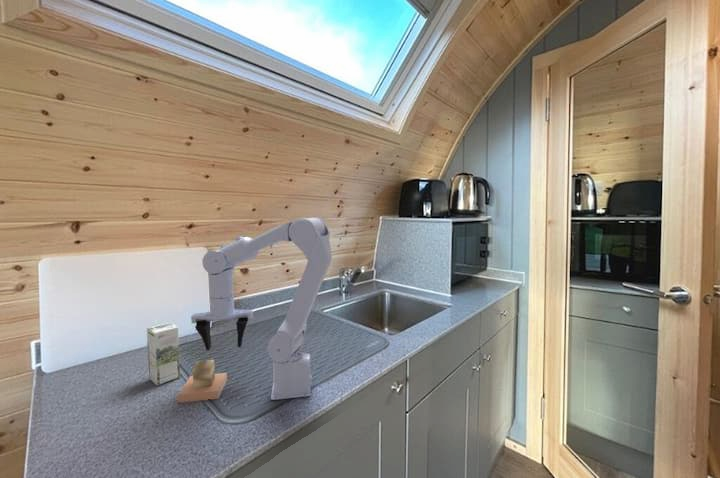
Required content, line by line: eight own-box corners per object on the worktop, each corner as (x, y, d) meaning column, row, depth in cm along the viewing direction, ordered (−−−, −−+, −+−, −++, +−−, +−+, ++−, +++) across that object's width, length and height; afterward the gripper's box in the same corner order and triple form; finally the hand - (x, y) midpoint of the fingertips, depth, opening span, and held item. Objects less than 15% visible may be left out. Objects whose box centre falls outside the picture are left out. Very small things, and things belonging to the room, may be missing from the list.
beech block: (215, 377, 84) (214, 359, 83) (211, 386, 80) (210, 367, 79) (198, 379, 83) (197, 361, 83) (193, 388, 79) (192, 369, 79)
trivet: (227, 381, 87) (226, 372, 87) (218, 400, 78) (218, 390, 78) (191, 384, 85) (190, 375, 85) (178, 404, 77) (177, 394, 76)
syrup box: (172, 371, 92) (169, 321, 90) (181, 378, 88) (178, 326, 86) (149, 379, 87) (145, 327, 86) (157, 387, 83) (154, 332, 82)
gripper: (253, 290, 88) (255, 338, 90) (196, 293, 85) (198, 343, 87) (249, 297, 81) (252, 349, 83) (187, 301, 79) (190, 355, 80)
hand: (224, 347), depth 84 cm, fingers open, 7 cm apart
